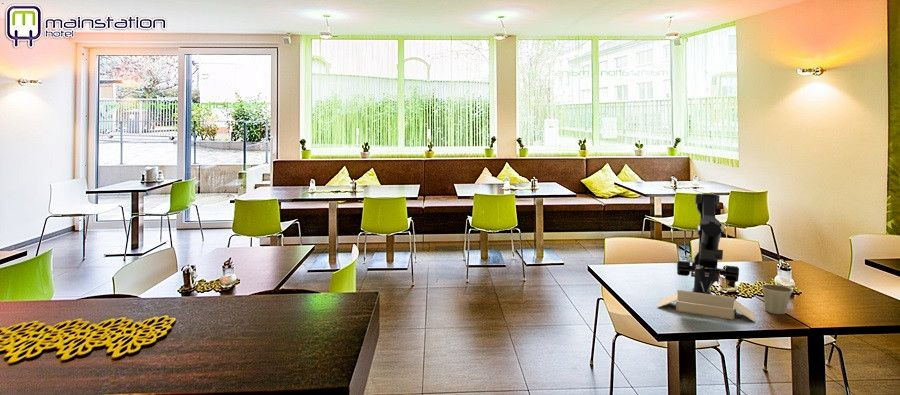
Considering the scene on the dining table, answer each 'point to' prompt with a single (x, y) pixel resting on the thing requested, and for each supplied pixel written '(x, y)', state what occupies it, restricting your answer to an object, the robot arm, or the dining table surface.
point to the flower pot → (776, 298)
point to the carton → (707, 308)
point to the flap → (706, 299)
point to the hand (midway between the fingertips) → (705, 292)
